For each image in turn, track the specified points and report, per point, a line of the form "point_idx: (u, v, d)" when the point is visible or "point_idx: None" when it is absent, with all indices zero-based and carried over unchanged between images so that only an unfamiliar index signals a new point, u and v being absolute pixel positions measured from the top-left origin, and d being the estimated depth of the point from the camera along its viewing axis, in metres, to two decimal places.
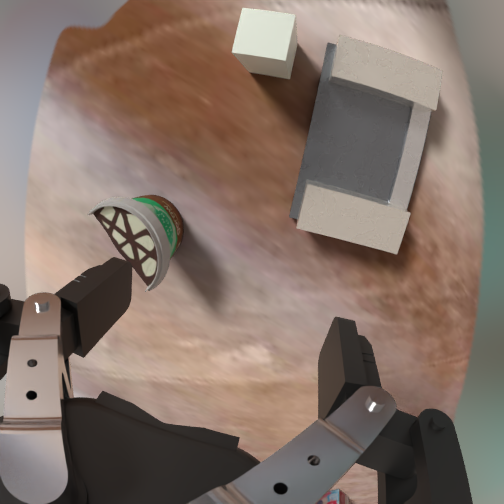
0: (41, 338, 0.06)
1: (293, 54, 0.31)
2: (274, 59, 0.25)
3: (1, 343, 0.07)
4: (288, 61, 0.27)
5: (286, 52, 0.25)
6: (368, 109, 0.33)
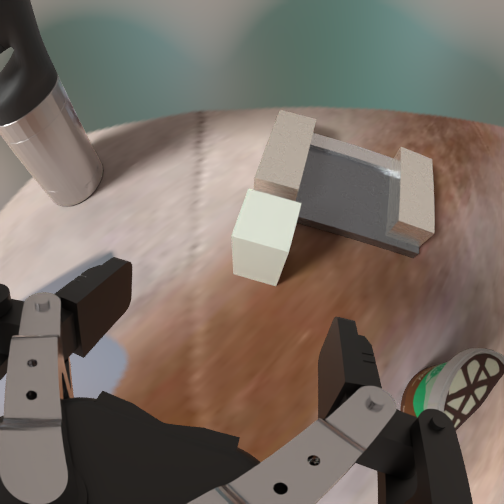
0: (41, 338, 0.06)
1: None
2: (298, 214, 0.29)
3: (1, 343, 0.07)
4: None
5: (292, 201, 0.29)
6: (316, 179, 0.40)
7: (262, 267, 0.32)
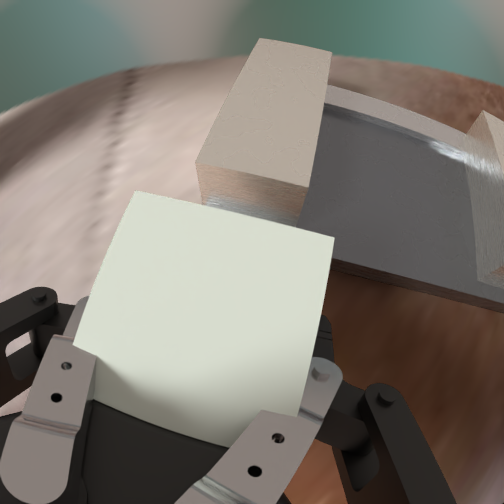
0: None
1: None
2: None
3: (42, 348, 0.08)
4: None
5: (298, 232, 0.07)
6: (340, 166, 0.19)
7: None
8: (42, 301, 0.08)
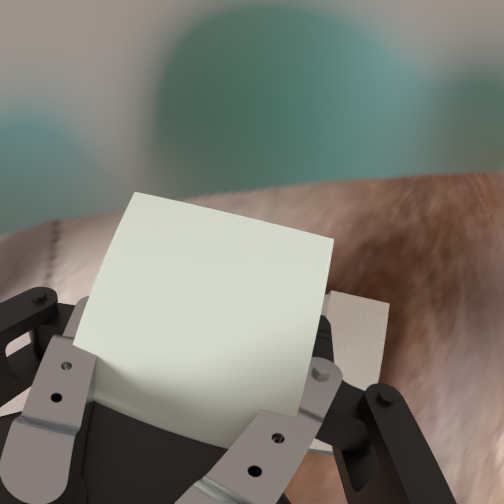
0: None
1: None
2: None
3: (41, 348, 0.08)
4: None
5: (297, 233, 0.07)
6: None
7: None
8: (42, 301, 0.08)
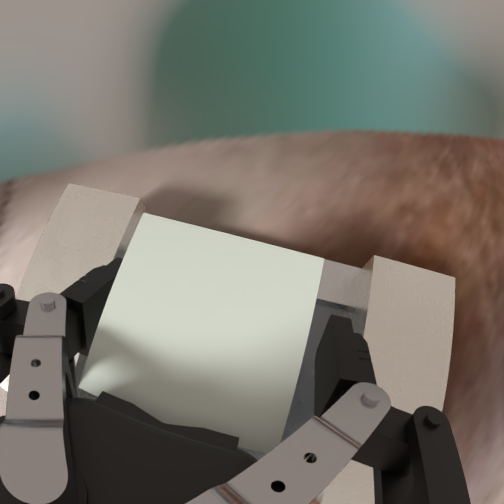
0: (45, 338, 0.06)
1: None
2: None
3: (5, 343, 0.07)
4: None
5: (291, 253, 0.08)
6: None
7: None
8: None
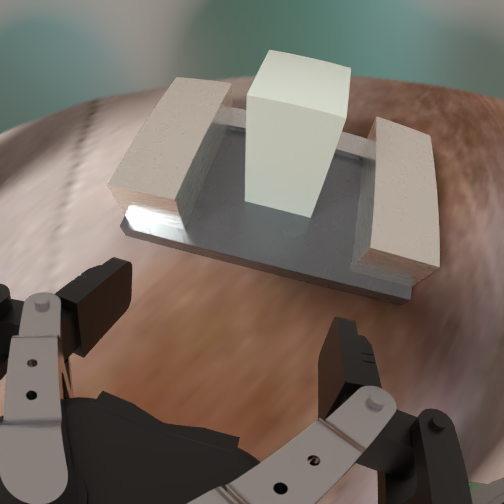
0: (41, 338, 0.06)
1: None
2: None
3: (1, 343, 0.07)
4: None
5: (337, 65, 0.16)
6: (231, 178, 0.24)
7: (293, 173, 0.19)
8: None
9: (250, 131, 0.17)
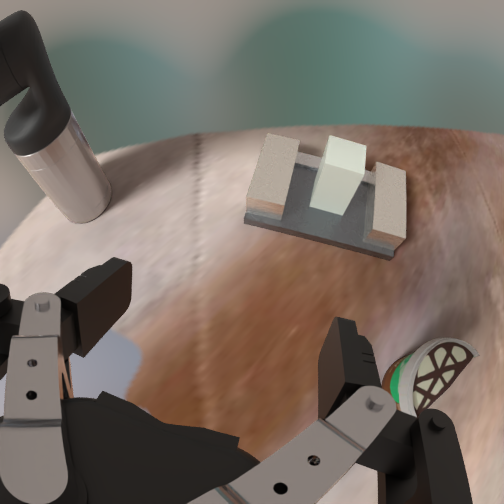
0: (41, 338, 0.06)
1: None
2: None
3: (1, 343, 0.07)
4: None
5: (360, 144, 0.38)
6: (301, 194, 0.46)
7: (337, 194, 0.41)
8: None
9: (322, 176, 0.39)
